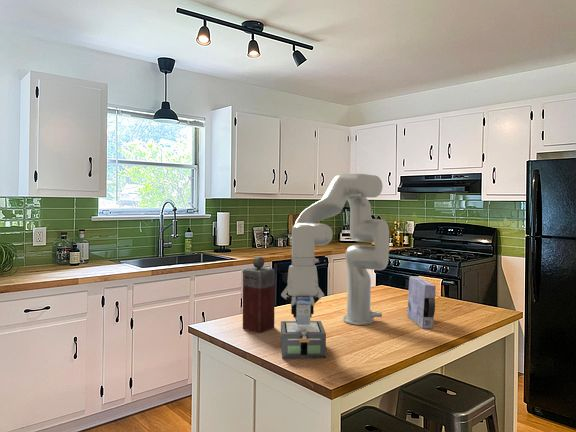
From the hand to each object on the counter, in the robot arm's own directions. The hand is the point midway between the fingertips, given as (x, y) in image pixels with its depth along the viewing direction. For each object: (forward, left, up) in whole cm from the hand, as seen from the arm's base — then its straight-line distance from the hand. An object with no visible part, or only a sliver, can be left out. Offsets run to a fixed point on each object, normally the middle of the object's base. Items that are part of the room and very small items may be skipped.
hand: (302, 315), depth 147 cm
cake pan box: (-51, -31, -12) cm, 61 cm away
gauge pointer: (0, +8, -6) cm, 10 cm away
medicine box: (0, 0, -2) cm, 2 cm away
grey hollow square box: (0, 0, -12) cm, 12 cm away
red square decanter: (+16, -26, -12) cm, 33 cm away
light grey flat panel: (0, +2, -5) cm, 5 cm away
